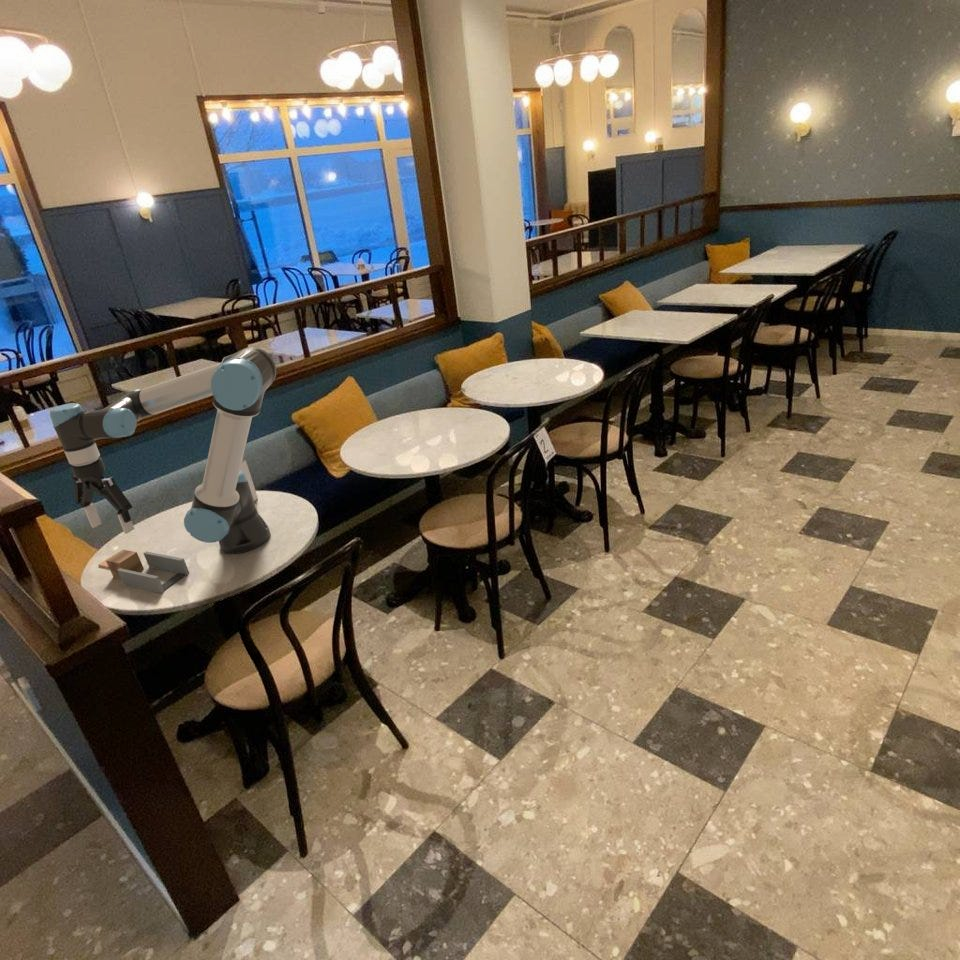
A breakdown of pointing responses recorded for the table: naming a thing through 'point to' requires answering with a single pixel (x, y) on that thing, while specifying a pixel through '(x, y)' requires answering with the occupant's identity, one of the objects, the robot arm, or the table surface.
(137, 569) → the block
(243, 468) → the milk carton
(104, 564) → the tile
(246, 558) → the table surface
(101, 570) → the table surface
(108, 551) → the table surface
